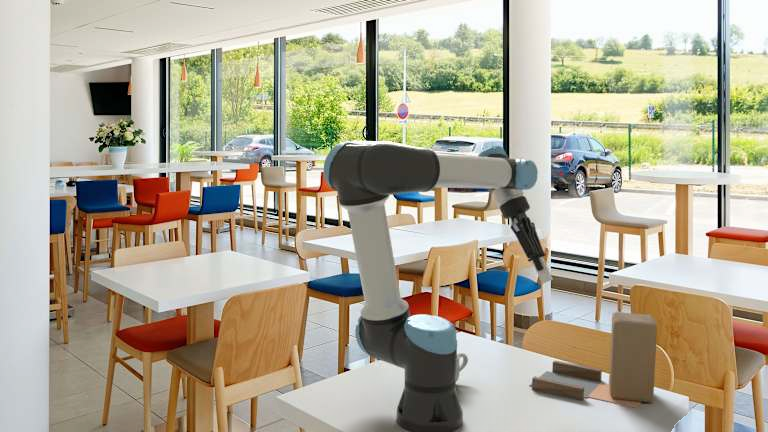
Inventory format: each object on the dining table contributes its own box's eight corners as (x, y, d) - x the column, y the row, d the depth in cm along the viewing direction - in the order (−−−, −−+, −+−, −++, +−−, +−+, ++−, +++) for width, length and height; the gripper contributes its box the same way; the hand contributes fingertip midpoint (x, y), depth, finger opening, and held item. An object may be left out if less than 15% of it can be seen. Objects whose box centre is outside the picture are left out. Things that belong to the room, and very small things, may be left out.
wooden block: (649, 389, 171) (653, 314, 169) (653, 404, 162) (657, 324, 160) (608, 385, 174) (612, 310, 172) (610, 399, 165) (613, 320, 162)
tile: (637, 408, 160) (637, 407, 160) (587, 397, 167) (587, 396, 167) (647, 393, 169) (647, 393, 169) (600, 384, 176) (600, 383, 176)
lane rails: (582, 400, 164) (582, 388, 164) (531, 389, 171) (532, 378, 171) (601, 380, 178) (601, 369, 178) (554, 370, 186) (554, 360, 185)
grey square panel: (586, 398, 166) (586, 397, 166) (529, 385, 174) (529, 385, 174) (601, 382, 177) (601, 382, 176) (546, 371, 185) (546, 371, 185)
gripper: (515, 193, 172) (553, 278, 167) (531, 195, 183) (567, 274, 178) (490, 206, 176) (526, 289, 170) (508, 207, 187) (542, 285, 182)
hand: (547, 281), depth 174 cm, fingers closed
